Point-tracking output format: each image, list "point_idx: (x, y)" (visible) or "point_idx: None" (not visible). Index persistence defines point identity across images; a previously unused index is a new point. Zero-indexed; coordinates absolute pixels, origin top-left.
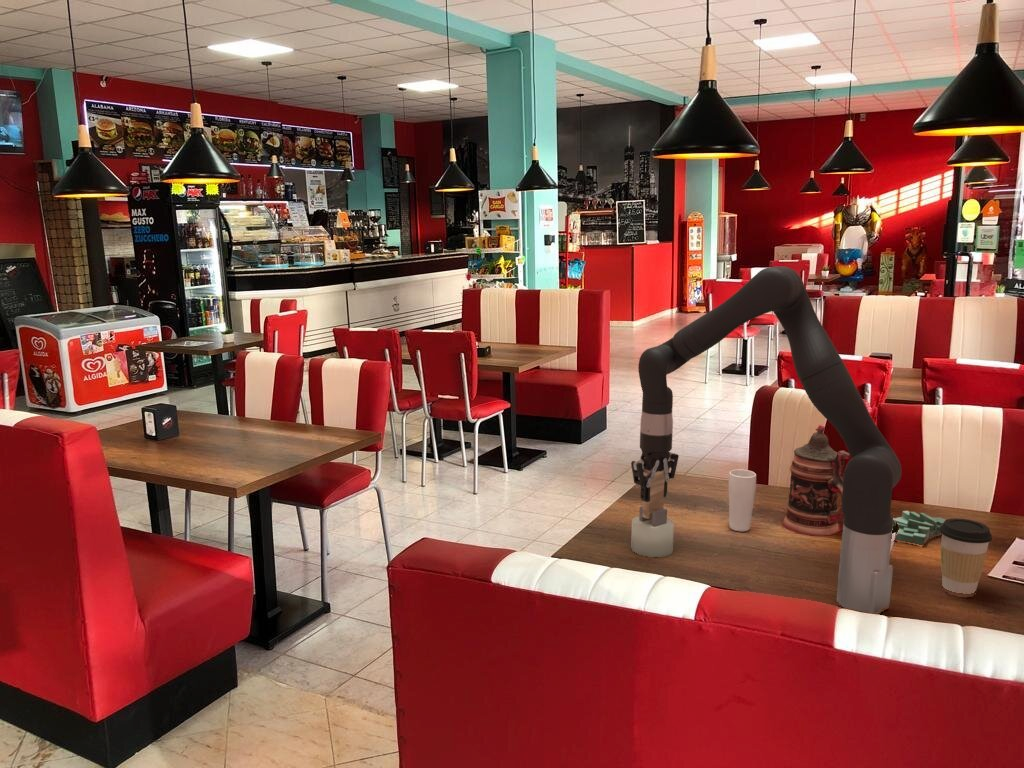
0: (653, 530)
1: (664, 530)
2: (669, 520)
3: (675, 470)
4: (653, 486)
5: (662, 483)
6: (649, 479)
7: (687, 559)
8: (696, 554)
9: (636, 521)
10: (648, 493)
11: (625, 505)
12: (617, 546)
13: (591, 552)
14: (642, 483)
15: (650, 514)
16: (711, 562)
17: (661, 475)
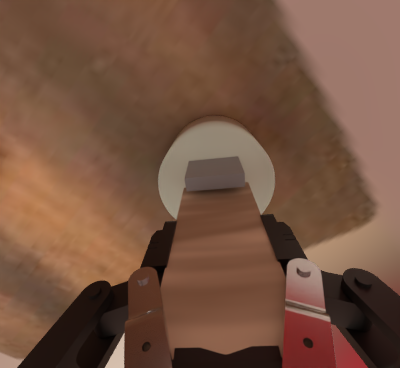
0: (255, 141)
1: (224, 128)
2: (167, 173)
3: (53, 326)
4: (249, 261)
5: (180, 267)
6: (310, 301)
7: (181, 74)
8: (144, 87)
9: None
10: (281, 236)
11: None
12: None
13: (323, 204)
14: (371, 284)
15: (242, 189)
16: (138, 24)
17: (186, 313)
